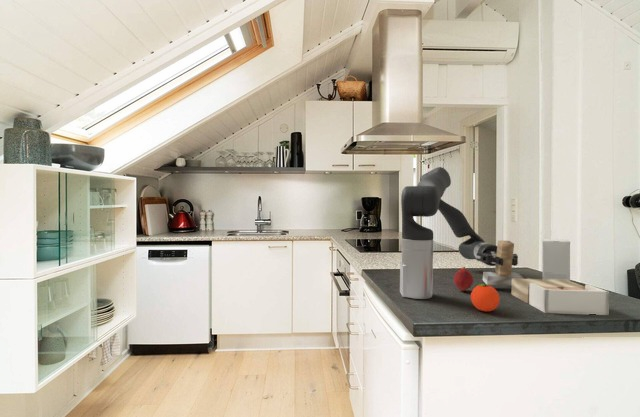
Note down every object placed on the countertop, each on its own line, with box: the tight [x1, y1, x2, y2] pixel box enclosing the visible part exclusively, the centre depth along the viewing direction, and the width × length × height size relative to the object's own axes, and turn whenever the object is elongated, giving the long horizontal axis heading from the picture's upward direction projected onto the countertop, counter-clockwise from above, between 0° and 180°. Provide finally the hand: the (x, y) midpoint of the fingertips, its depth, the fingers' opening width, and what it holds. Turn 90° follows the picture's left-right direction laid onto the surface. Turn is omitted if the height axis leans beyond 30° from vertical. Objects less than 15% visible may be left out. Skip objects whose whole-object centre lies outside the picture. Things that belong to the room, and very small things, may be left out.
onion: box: [453, 265, 474, 292], centre depth 113 cm, size 6×6×8 cm
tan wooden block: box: [511, 278, 585, 305], centre depth 104 cm, size 16×10×5 cm, turn 85°
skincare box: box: [541, 238, 571, 281], centre depth 126 cm, size 8×7×16 cm
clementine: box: [470, 283, 501, 312], centre depth 93 cm, size 8×7×7 cm
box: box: [528, 283, 610, 316], centre depth 95 cm, size 16×8×6 cm, turn 85°
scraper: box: [482, 240, 524, 286], centre depth 115 cm, size 11×4×14 cm, turn 85°
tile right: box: [563, 287, 588, 291], centre depth 97 cm, size 4×4×3 cm
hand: (508, 262), depth 112 cm, fingers closed on scraper, 3 cm apart
